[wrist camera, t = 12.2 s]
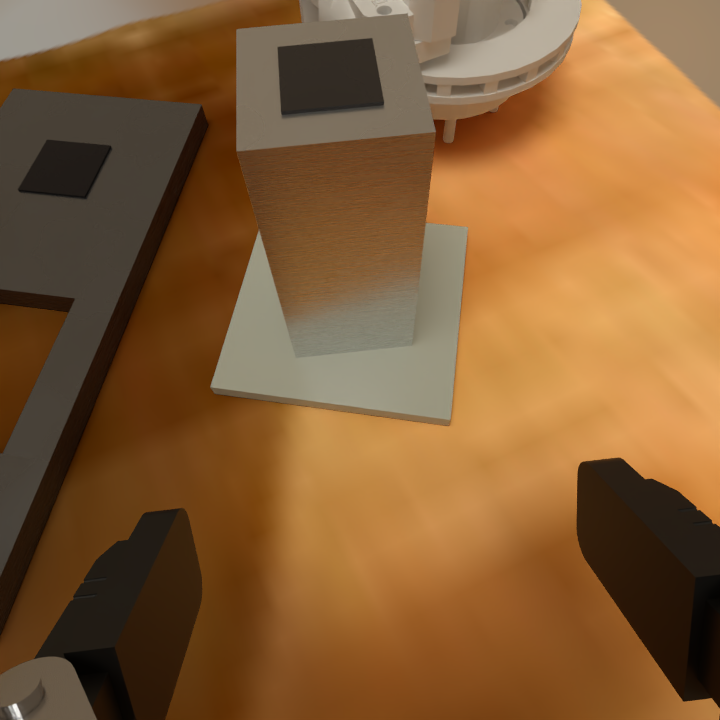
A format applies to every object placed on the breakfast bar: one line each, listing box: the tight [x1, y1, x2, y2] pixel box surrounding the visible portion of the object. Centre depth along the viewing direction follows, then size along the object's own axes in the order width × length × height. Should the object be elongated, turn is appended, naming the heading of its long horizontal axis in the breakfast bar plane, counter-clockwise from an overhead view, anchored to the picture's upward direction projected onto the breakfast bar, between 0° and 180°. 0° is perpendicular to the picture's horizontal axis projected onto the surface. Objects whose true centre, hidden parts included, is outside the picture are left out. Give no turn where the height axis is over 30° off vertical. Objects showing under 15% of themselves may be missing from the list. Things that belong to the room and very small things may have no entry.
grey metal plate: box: [0, 89, 208, 634], centre depth 23 cm, size 24×10×1 cm, turn 171°
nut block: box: [237, 13, 436, 358], centre depth 18 cm, size 4×4×10 cm
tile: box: [211, 223, 468, 426], centre depth 23 cm, size 9×9×1 cm
